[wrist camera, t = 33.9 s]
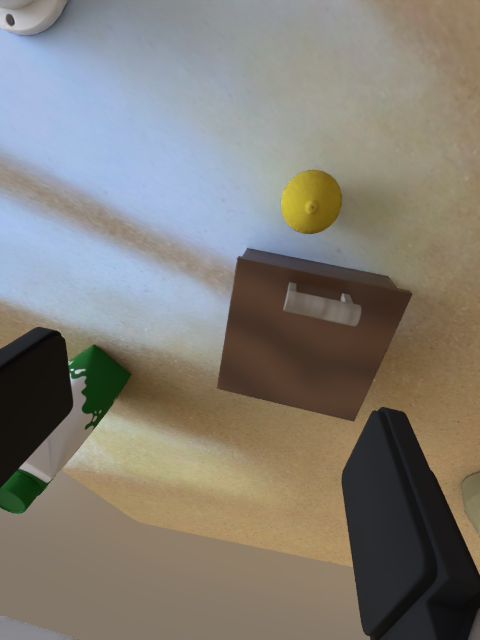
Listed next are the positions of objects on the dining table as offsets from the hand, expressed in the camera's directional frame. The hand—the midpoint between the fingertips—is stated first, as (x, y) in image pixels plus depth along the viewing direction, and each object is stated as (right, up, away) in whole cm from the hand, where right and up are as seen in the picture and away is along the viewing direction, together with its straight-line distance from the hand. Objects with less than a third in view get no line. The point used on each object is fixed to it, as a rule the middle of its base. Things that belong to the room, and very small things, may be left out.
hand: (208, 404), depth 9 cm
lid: (+7, 0, +23) cm, 24 cm away
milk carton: (-21, -5, +39) cm, 44 cm away
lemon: (+8, +15, +23) cm, 29 cm away
